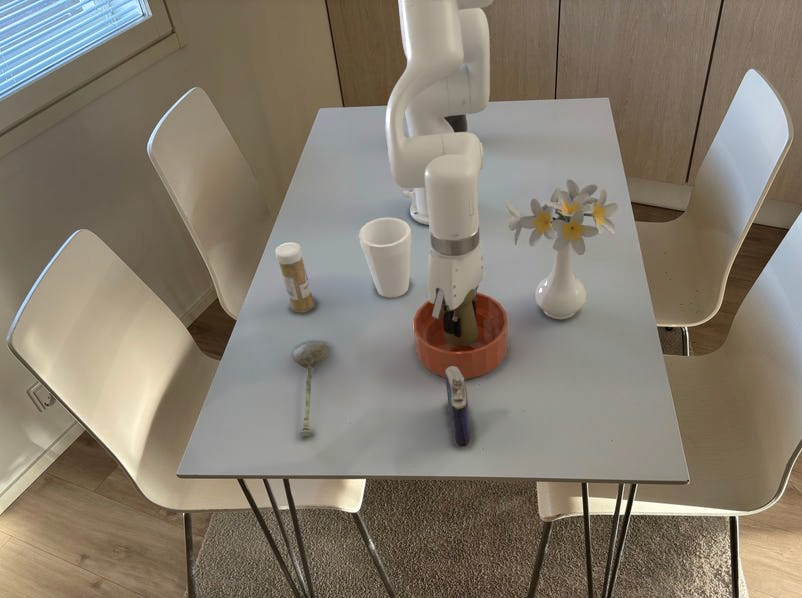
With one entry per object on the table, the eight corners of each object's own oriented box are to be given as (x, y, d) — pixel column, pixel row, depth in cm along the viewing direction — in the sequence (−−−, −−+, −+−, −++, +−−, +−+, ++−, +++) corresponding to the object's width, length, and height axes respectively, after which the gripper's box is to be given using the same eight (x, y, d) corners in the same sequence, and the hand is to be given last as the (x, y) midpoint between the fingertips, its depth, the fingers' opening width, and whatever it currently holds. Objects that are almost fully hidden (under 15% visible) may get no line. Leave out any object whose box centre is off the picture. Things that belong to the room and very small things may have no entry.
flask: (446, 404, 113) (442, 358, 106) (464, 401, 113) (461, 355, 106) (455, 448, 107) (451, 402, 99) (474, 445, 107) (471, 399, 99)
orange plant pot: (399, 360, 121) (394, 333, 117) (448, 308, 130) (446, 280, 126) (477, 394, 114) (476, 366, 110) (523, 336, 124) (524, 308, 119)
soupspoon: (332, 344, 126) (297, 349, 126) (328, 330, 124) (292, 335, 124) (326, 435, 110) (285, 440, 110) (321, 421, 108) (279, 426, 108)
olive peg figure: (475, 348, 117) (473, 298, 110) (440, 344, 118) (436, 295, 111) (481, 324, 122) (479, 274, 114) (447, 321, 123) (443, 272, 115)
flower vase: (501, 294, 132) (500, 177, 115) (596, 283, 133) (609, 165, 115) (513, 340, 123) (514, 221, 105) (615, 328, 124) (633, 207, 106)
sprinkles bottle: (317, 309, 132) (303, 251, 123) (294, 316, 131) (278, 259, 122) (310, 295, 135) (296, 238, 126) (288, 302, 134) (271, 245, 125)
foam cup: (423, 276, 138) (417, 221, 128) (406, 306, 131) (399, 250, 122) (379, 269, 140) (370, 214, 131) (361, 297, 134) (350, 242, 125)
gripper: (462, 203, 112) (467, 291, 125) (403, 258, 102) (414, 347, 115) (503, 215, 109) (503, 304, 122) (445, 273, 99) (452, 363, 112)
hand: (460, 324), depth 118 cm, fingers closed on olive peg figure, 4 cm apart
